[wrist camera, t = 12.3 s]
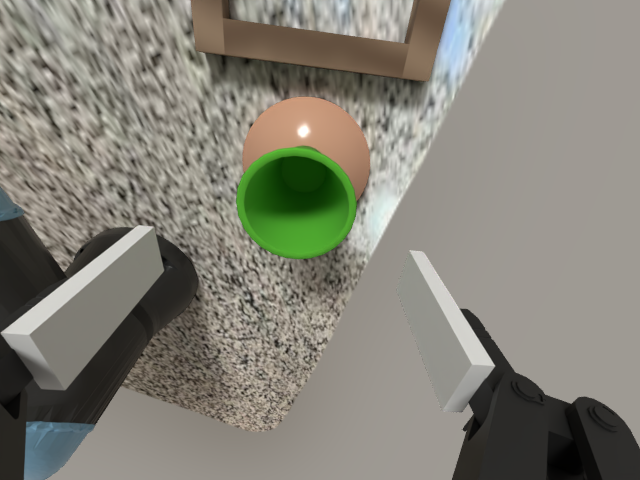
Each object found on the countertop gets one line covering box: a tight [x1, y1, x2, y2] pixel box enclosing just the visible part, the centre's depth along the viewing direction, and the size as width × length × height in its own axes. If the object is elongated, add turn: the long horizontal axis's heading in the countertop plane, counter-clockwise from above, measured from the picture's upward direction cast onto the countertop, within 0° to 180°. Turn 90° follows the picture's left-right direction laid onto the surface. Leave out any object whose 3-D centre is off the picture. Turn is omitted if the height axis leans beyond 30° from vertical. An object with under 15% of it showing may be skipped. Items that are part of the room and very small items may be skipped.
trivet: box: [243, 96, 370, 201], centre depth 30 cm, size 14×14×1 cm
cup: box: [236, 145, 357, 259], centre depth 25 cm, size 9×9×11 cm
